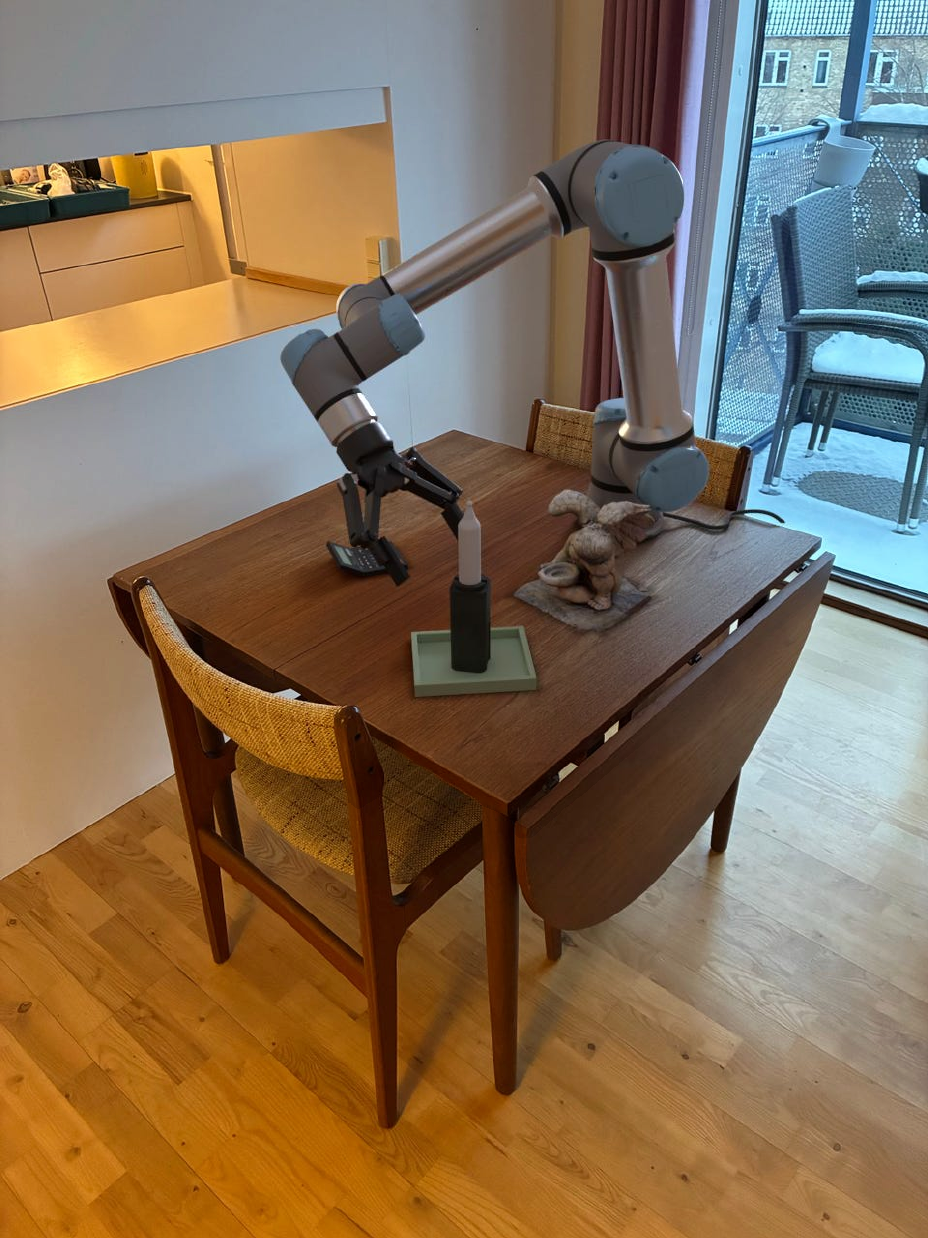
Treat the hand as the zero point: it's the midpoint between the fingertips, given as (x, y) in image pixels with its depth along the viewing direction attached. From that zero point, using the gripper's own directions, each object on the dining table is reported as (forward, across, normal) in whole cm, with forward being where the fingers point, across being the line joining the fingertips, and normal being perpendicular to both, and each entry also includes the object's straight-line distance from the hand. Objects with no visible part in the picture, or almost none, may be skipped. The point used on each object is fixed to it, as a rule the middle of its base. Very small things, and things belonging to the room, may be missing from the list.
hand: (438, 563), depth 133 cm
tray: (+14, 0, -6) cm, 15 cm away
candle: (+14, 0, -6) cm, 15 cm away
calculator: (-10, -12, -30) cm, 34 cm away
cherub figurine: (+15, -26, -6) cm, 31 cm away
